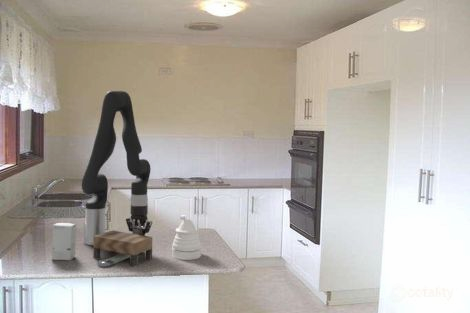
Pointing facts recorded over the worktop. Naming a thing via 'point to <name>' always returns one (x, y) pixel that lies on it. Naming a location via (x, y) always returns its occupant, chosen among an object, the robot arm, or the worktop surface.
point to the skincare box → (63, 241)
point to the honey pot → (186, 241)
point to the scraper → (123, 255)
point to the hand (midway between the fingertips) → (138, 241)
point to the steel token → (105, 263)
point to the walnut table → (123, 244)
